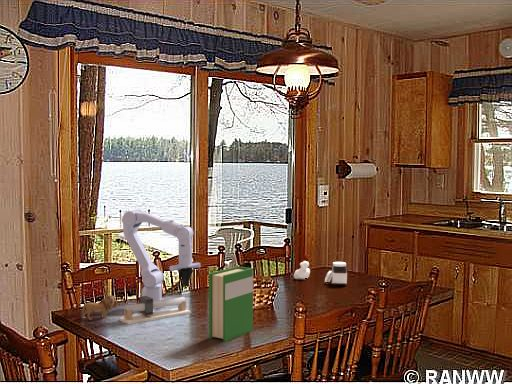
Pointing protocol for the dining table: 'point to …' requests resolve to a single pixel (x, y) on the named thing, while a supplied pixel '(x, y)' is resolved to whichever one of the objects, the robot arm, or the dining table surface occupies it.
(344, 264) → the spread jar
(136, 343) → the dining table surface
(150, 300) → the collar
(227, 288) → the hardback book
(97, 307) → the lion figurine
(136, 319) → the pipe stand
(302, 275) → the duck figurine
